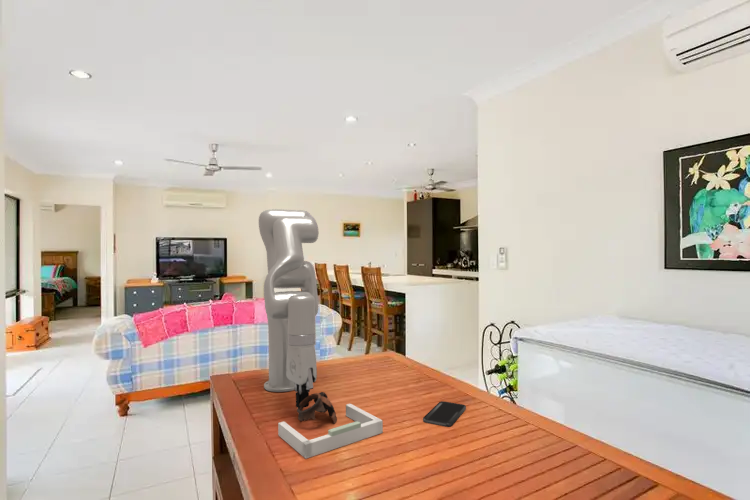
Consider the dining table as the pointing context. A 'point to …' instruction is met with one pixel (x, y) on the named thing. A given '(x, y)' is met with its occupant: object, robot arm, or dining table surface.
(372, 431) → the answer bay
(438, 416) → the phone
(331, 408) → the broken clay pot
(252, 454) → the dining table surface
